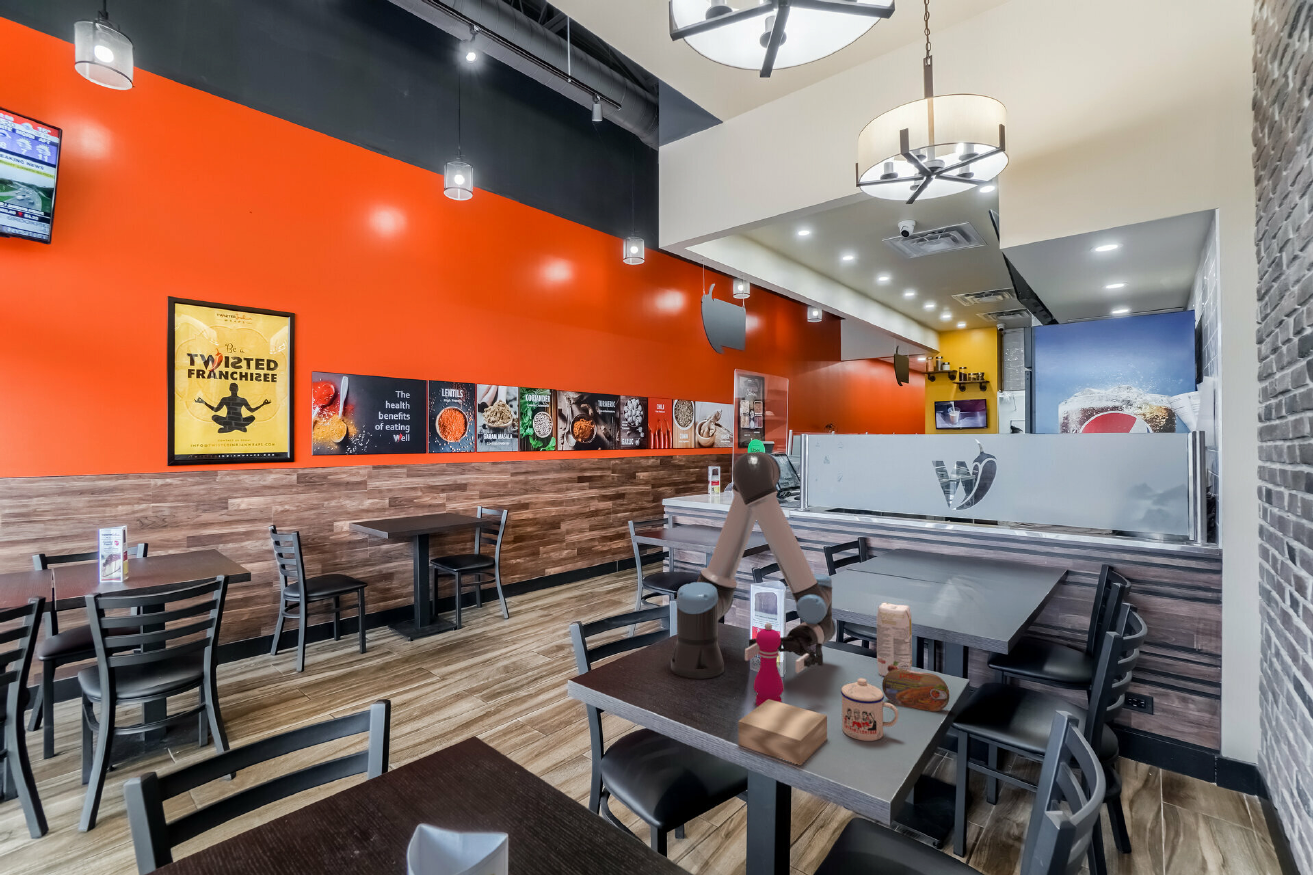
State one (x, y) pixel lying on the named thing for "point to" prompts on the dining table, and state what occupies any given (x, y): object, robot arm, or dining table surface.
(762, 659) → the pepper mill
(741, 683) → the dining table surface
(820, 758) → the dining table surface
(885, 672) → the juice carton
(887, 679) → the tin
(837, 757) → the dining table surface
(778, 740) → the birch block
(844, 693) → the teacup with lid
